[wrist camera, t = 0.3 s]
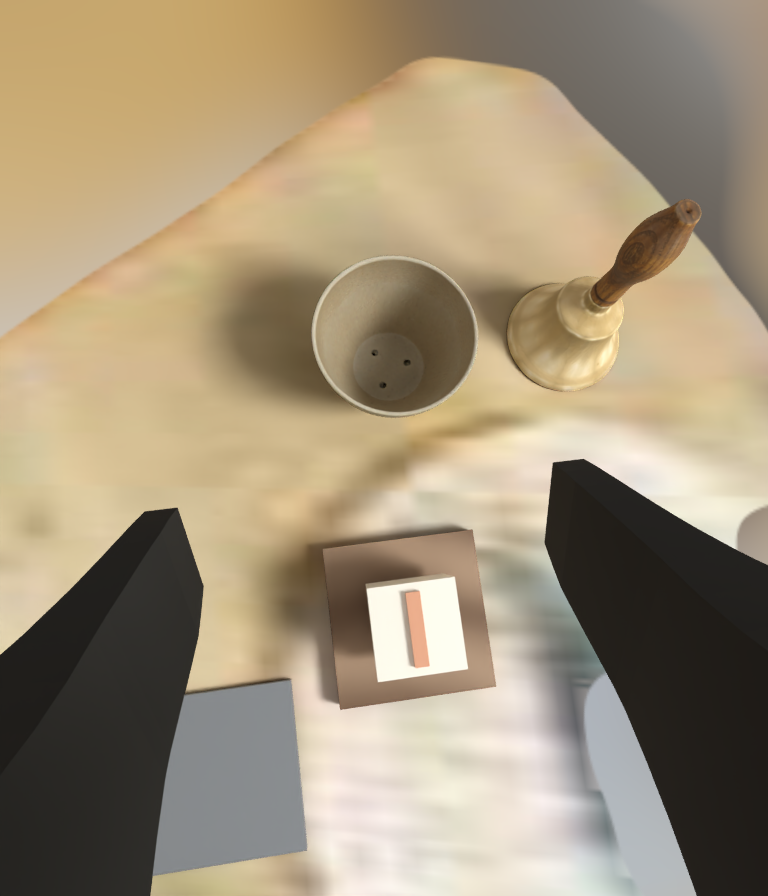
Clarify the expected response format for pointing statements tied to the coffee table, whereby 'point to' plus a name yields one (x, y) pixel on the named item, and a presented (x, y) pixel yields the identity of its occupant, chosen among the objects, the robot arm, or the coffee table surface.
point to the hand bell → (592, 306)
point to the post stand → (352, 622)
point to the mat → (232, 780)
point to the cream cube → (416, 627)
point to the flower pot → (394, 336)
